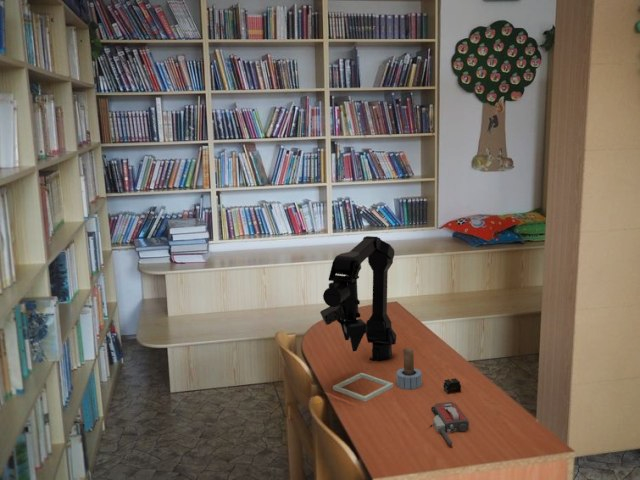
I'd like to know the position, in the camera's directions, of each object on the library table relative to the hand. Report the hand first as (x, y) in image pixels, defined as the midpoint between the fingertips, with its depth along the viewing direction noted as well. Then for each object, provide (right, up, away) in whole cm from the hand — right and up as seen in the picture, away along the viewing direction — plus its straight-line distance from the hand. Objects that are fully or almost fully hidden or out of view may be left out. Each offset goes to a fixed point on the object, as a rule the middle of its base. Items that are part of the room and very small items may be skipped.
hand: (350, 345), depth 199 cm
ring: (+18, -13, +1) cm, 22 cm away
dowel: (+18, -12, +1) cm, 22 cm away
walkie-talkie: (+26, -18, -24) cm, 40 cm away
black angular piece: (+30, -14, -5) cm, 33 cm away
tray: (+4, -14, 0) cm, 14 cm away
